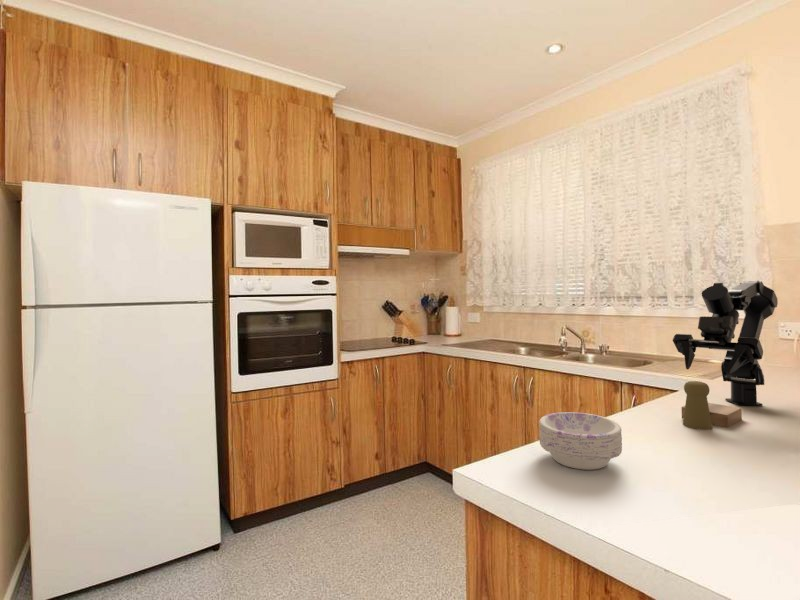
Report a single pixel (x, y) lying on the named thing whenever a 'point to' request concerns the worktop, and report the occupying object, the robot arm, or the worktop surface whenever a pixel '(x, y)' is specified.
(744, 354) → the robot arm
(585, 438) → the paper bowls
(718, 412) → the base block
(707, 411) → the cork
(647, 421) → the worktop surface
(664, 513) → the worktop surface
